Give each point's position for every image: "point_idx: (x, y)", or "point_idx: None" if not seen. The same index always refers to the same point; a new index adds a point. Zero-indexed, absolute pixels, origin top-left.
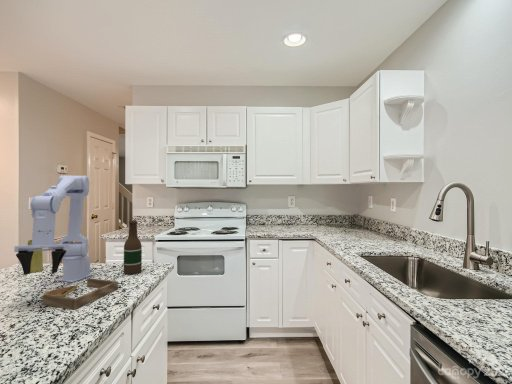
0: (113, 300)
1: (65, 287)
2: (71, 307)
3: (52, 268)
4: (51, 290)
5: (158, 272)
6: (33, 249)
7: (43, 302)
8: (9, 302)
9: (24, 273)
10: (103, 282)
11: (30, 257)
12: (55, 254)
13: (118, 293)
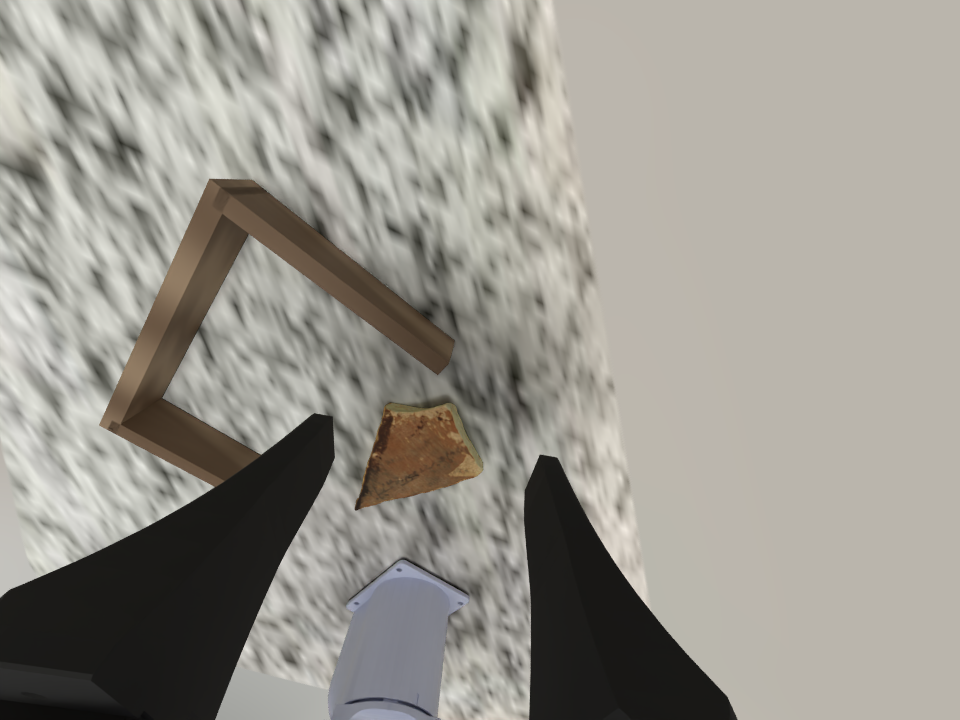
0: (83, 237)
1: (401, 496)
2: (271, 201)
3: (303, 443)
4: (453, 483)
5: (40, 539)
6: None
7: (445, 340)
8: (604, 436)
9: (555, 465)
10: (201, 458)
11: (541, 673)
12: (93, 594)
13: (109, 338)
